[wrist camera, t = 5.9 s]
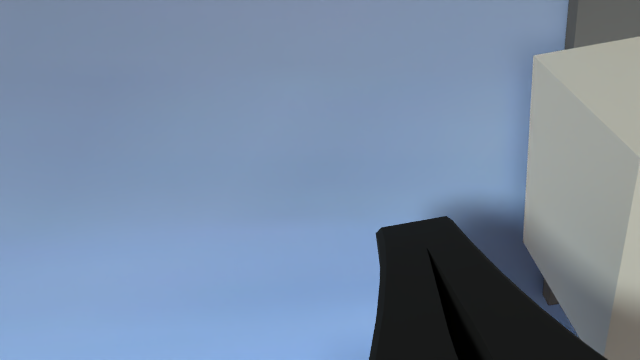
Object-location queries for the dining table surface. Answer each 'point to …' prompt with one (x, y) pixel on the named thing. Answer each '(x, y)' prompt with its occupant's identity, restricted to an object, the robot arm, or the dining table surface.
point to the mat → (598, 38)
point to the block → (588, 189)
